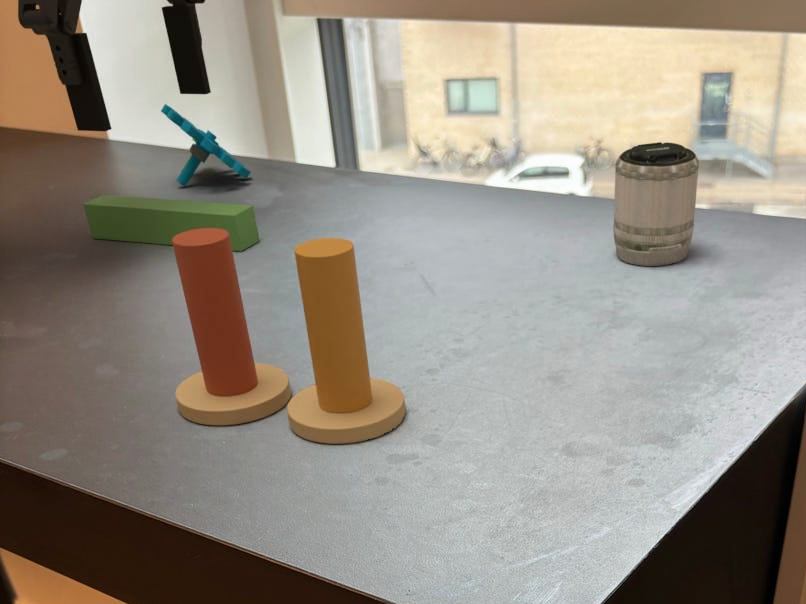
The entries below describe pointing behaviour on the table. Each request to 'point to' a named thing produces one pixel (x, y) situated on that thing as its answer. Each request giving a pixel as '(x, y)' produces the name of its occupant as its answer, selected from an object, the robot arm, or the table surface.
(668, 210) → the camera lens
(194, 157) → the teal blocky crossed piece
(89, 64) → the robot arm
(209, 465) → the table surface
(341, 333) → the ochre rod
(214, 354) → the terracotta rod
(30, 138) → the table surface
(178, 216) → the green bar
